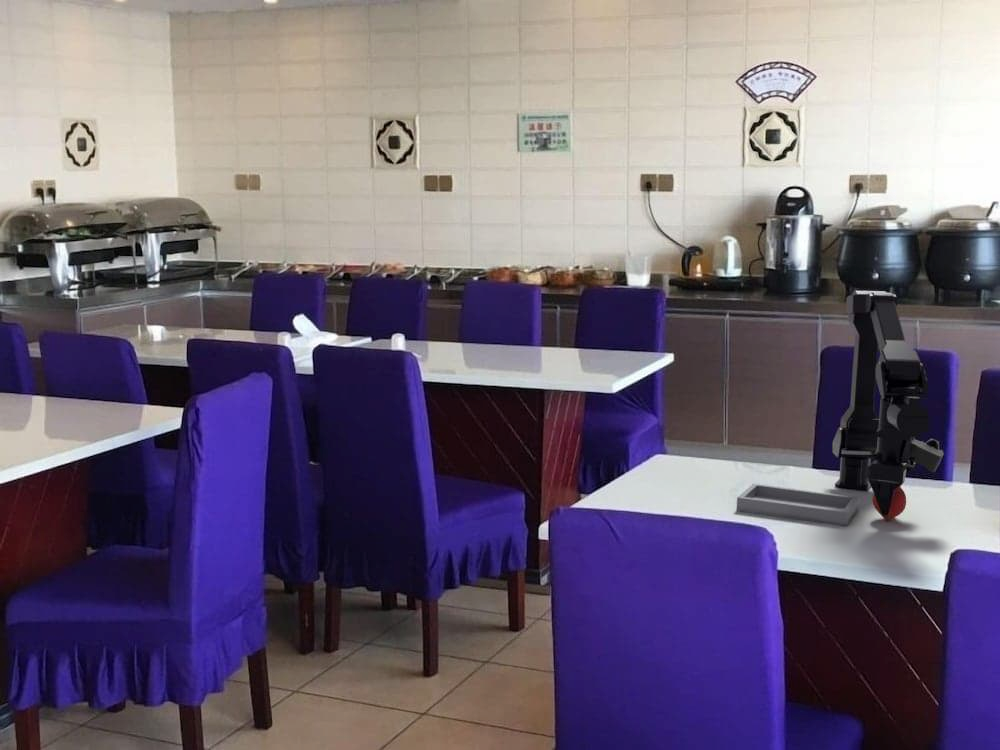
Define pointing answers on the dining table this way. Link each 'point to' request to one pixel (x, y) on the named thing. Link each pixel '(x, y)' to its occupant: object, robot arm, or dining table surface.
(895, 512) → the onion
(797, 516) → the tray
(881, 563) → the dining table surface
